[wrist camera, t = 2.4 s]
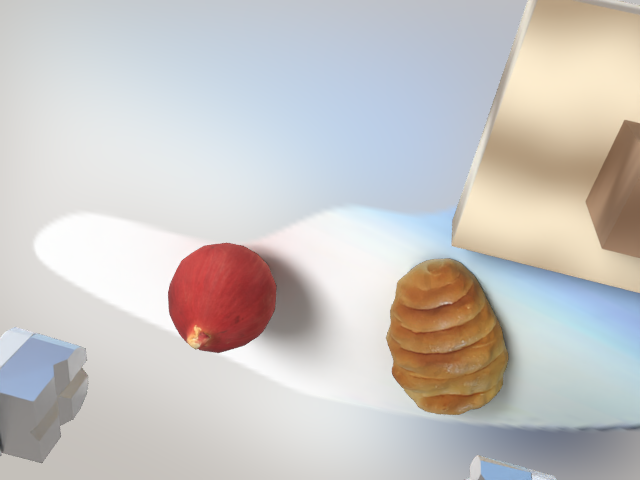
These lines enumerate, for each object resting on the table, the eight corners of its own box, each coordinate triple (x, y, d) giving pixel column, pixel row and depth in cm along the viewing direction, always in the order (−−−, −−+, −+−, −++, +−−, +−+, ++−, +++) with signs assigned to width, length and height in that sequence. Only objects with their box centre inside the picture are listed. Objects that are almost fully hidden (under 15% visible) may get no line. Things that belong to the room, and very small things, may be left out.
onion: (287, 305, 37) (248, 402, 31) (199, 288, 38) (143, 378, 31) (293, 226, 34) (252, 315, 28) (197, 208, 35) (134, 290, 28)
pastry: (373, 257, 35) (364, 297, 31) (494, 244, 33) (498, 286, 29) (402, 378, 39) (396, 424, 36) (510, 373, 37) (515, 421, 34)
